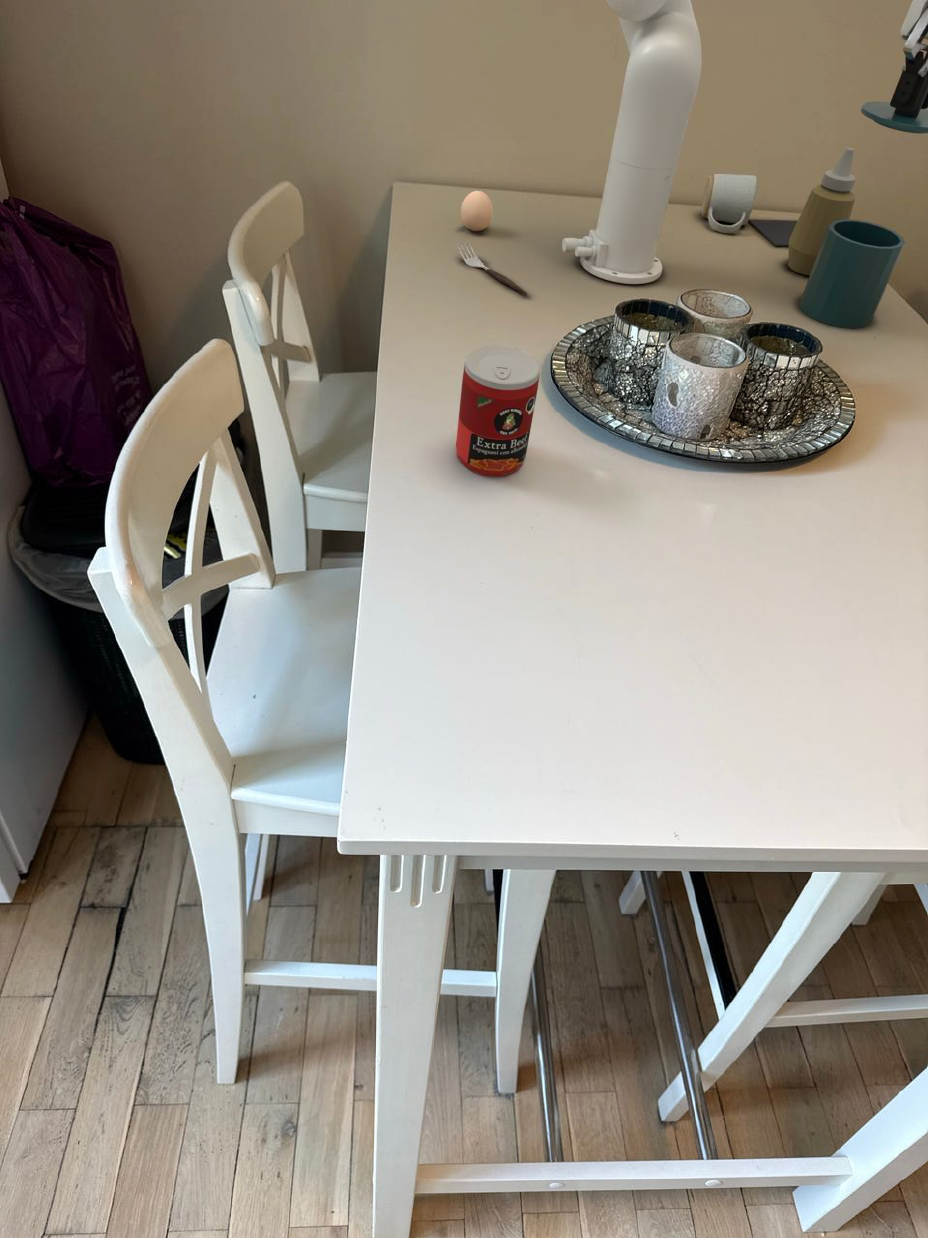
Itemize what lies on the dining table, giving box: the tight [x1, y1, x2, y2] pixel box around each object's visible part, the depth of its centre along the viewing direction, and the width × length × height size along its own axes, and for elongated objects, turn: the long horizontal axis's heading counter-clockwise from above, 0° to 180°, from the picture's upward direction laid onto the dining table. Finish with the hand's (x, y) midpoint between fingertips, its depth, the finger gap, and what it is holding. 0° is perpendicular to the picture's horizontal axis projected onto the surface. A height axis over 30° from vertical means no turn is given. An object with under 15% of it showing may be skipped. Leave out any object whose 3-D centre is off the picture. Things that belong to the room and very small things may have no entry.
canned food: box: [455, 344, 541, 477], centre depth 91 cm, size 8×8×11 cm
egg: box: [460, 190, 494, 232], centre depth 139 cm, size 5×5×6 cm
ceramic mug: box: [700, 173, 758, 234], centre depth 151 cm, size 11×8×8 cm
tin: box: [799, 218, 906, 329], centre depth 127 cm, size 10×10×12 cm
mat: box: [747, 219, 798, 248], centre depth 153 cm, size 11×11×1 cm
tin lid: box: [860, 70, 928, 135], centre depth 114 cm, size 11×11×6 cm
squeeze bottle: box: [787, 146, 856, 276], centre depth 136 cm, size 8×8×18 cm
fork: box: [455, 241, 528, 295], centre depth 128 cm, size 3×16×2 cm, turn 36°
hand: (908, 105), depth 114 cm, fingers closed on tin lid, 3 cm apart
